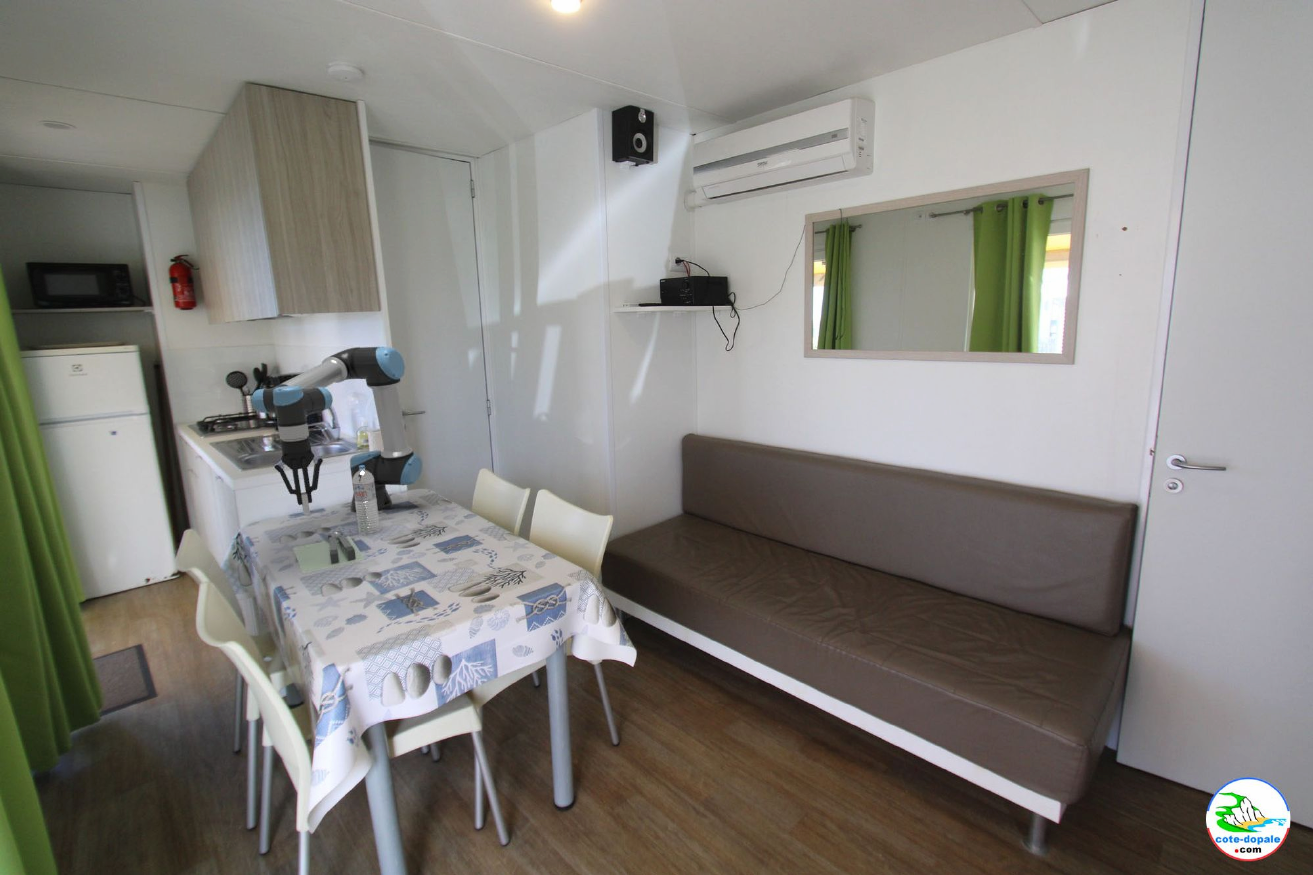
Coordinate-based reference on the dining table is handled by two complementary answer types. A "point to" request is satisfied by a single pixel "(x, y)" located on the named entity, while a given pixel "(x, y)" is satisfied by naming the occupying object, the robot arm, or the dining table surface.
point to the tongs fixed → (343, 544)
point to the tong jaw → (333, 550)
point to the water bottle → (366, 502)
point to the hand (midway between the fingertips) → (306, 513)
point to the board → (322, 556)
